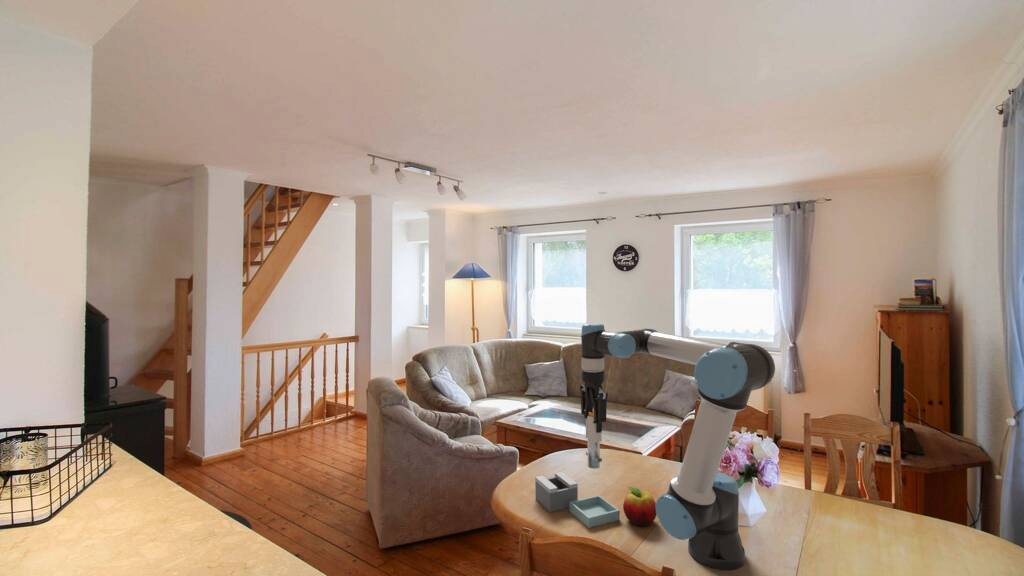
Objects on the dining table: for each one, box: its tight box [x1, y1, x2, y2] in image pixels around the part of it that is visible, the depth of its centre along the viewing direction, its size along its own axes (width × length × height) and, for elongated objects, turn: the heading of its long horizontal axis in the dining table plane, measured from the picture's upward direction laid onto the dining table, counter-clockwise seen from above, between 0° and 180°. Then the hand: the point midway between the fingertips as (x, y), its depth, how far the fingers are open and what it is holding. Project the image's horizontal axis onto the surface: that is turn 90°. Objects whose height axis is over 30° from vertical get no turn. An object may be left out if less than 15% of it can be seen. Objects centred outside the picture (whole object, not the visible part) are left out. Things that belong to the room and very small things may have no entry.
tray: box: [568, 494, 621, 529], centre depth 162 cm, size 12×12×3 cm
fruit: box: [622, 486, 657, 527], centre depth 157 cm, size 11×11×10 cm
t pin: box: [585, 410, 603, 470], centre depth 161 cm, size 7×4×18 cm, turn 24°
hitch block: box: [534, 471, 579, 513], centre depth 171 cm, size 11×11×8 cm
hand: (593, 439), depth 161 cm, fingers closed on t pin, 4 cm apart
